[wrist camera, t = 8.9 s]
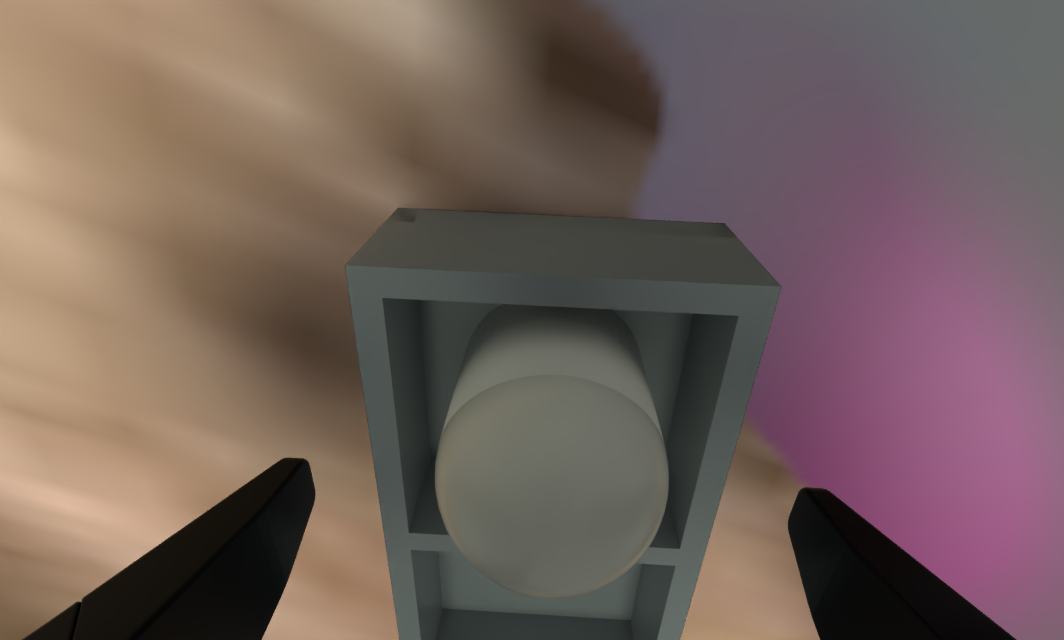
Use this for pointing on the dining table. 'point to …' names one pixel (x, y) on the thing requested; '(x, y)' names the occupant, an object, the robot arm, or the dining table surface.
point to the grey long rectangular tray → (561, 281)
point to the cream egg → (552, 452)
